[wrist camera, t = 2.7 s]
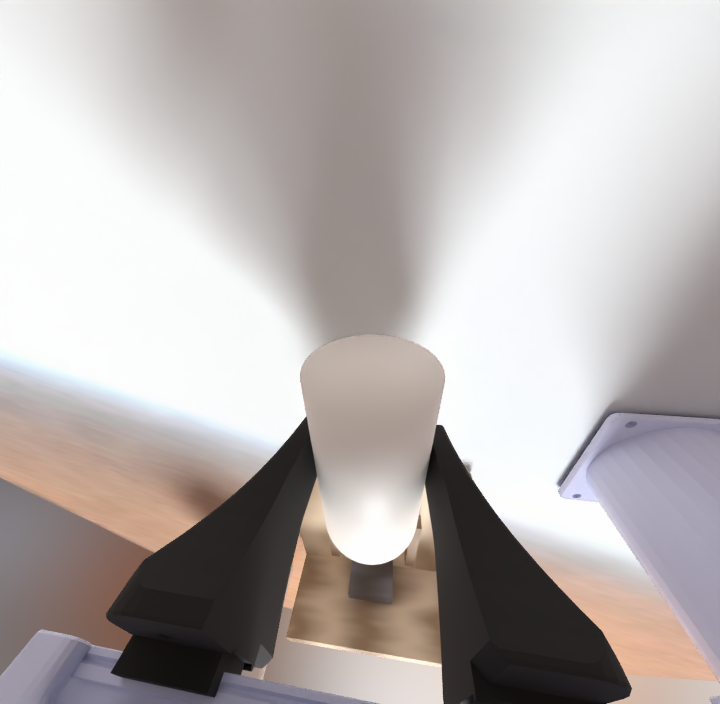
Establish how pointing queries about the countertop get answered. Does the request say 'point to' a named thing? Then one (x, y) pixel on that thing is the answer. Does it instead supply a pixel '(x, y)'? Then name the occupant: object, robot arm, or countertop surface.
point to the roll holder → (368, 595)
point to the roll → (372, 439)
